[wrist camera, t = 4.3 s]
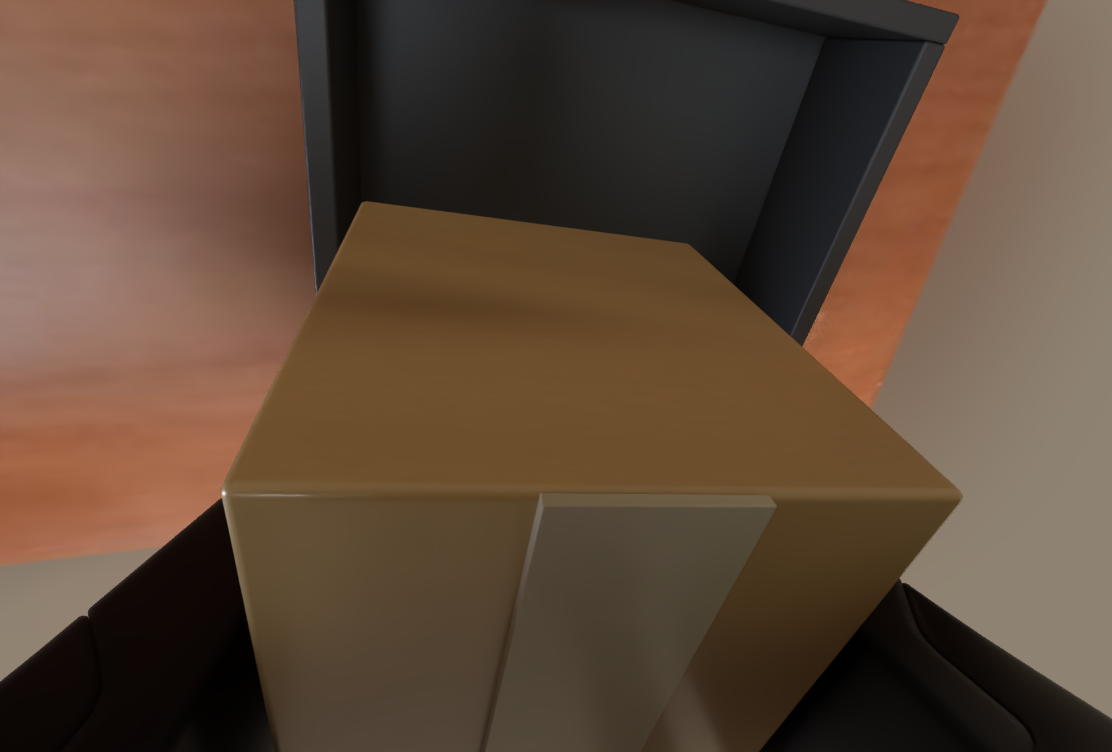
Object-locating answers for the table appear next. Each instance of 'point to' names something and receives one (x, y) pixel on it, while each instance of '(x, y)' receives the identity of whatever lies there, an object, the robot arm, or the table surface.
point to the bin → (621, 121)
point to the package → (555, 500)
